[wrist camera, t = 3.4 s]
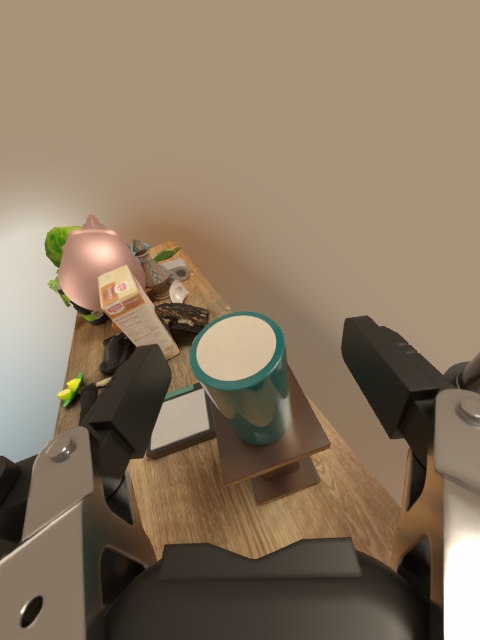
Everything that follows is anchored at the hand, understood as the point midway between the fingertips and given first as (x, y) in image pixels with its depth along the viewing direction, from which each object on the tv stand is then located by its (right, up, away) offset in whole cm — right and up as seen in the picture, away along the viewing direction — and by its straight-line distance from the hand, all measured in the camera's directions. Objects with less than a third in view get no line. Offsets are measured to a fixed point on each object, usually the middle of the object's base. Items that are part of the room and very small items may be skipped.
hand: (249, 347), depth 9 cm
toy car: (-33, -8, +47) cm, 58 cm away
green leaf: (-35, +32, +90) cm, 102 cm away
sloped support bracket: (-30, +20, +70) cm, 79 cm away
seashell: (-18, +6, +59) cm, 62 cm away
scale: (-11, -18, +30) cm, 36 cm away
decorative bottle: (-27, +11, +64) cm, 70 cm away
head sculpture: (-49, +22, +64) cm, 84 cm away
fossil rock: (-20, 0, +39) cm, 44 cm away
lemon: (-39, -15, +40) cm, 57 cm away
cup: (+1, -7, +11) cm, 13 cm away
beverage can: (-47, +1, +61) cm, 77 cm away
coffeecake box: (-22, -5, +47) cm, 52 cm away
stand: (+5, -20, +23) cm, 31 cm away
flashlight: (-31, -20, +34) cm, 50 cm away
